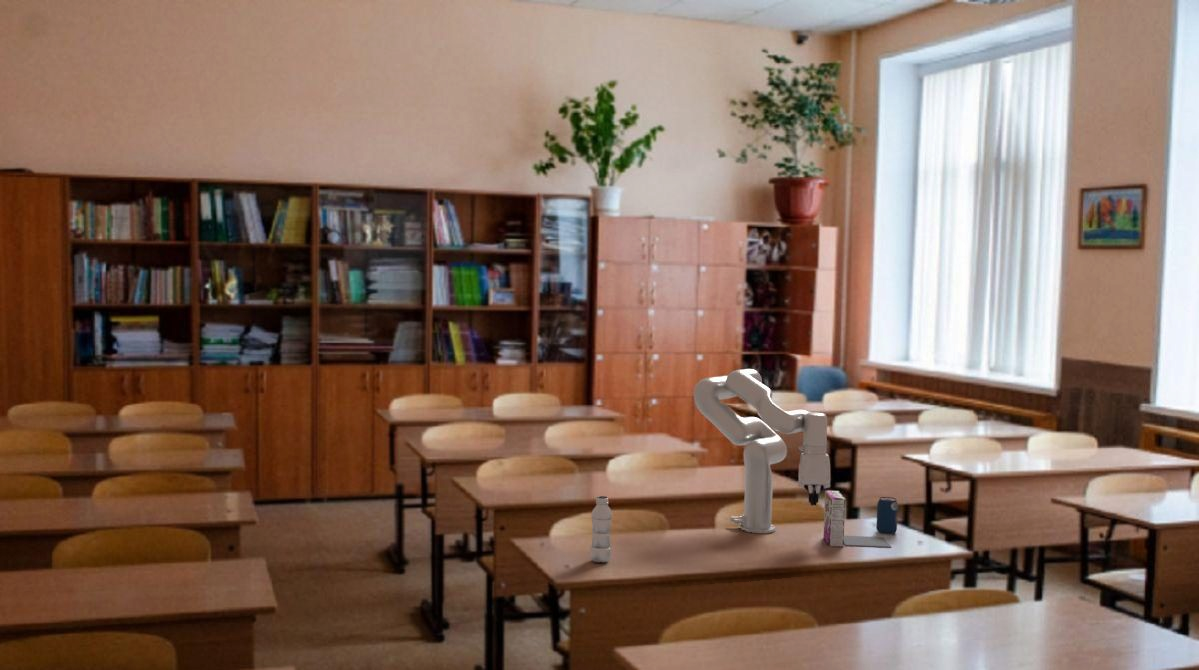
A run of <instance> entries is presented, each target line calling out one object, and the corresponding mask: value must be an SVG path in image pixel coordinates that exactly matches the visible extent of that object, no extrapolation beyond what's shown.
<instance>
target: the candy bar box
mask: <svg viewBox="0 0 1199 670" xmlns="http://www.w3.org/2000/svg"><path fill="white" fill-rule="evenodd" d="M823 509H824V511H823V513H824V515H823V539H824V540H825V541H826V542H825V543H827V545H828V546H829V547H831V548H832V547H833V548H840V547H841V548H843V547H844V536H845V519H846V517H845V516H846V515H845V514H846V510H845V509H846V498H845V497H844V496H843V495H842V493H841V492H840V491H839V490H824V508H823Z"/></svg>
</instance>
